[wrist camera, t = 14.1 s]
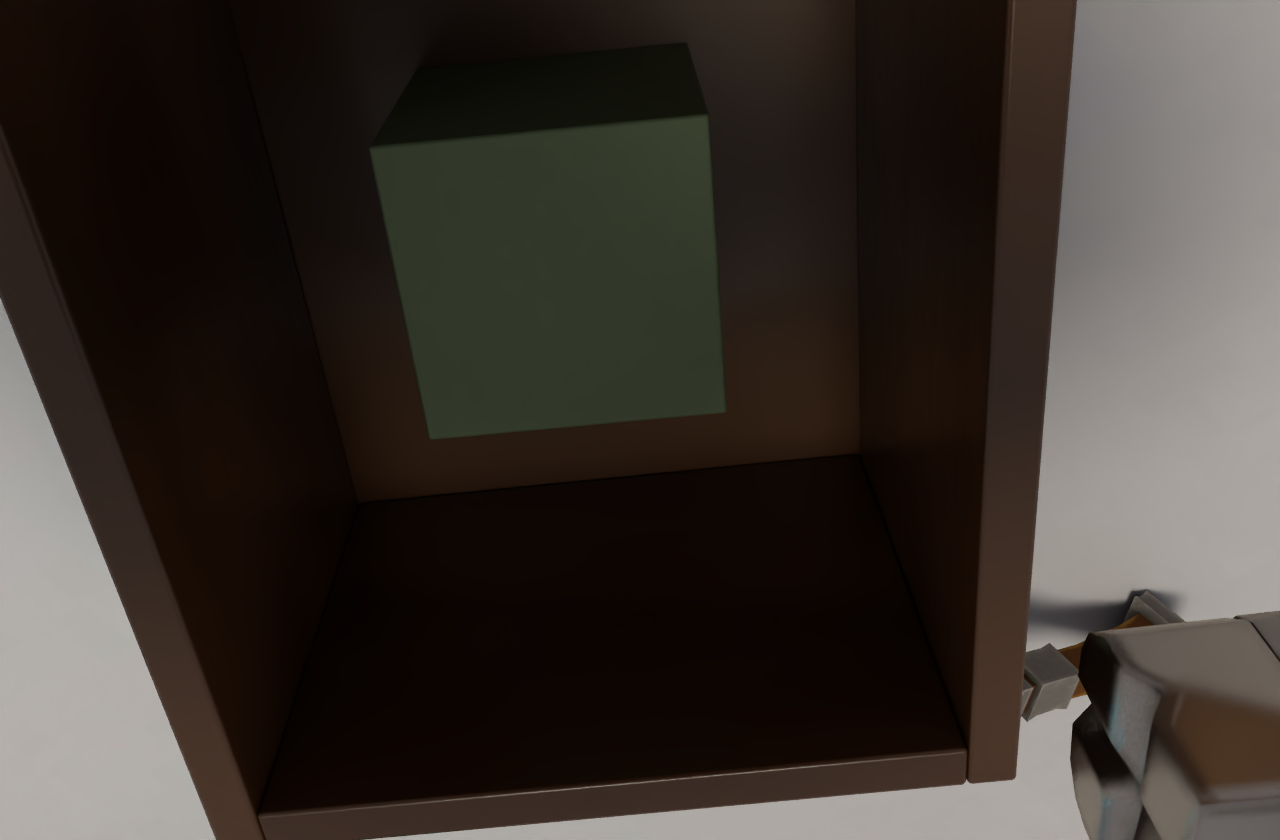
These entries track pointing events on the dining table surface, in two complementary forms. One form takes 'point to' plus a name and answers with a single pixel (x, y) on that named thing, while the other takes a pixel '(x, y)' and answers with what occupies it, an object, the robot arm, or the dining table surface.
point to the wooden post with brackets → (1077, 661)
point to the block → (555, 240)
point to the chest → (549, 458)
